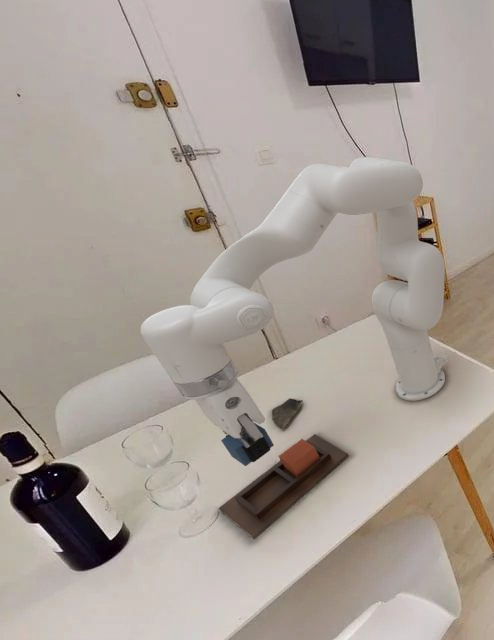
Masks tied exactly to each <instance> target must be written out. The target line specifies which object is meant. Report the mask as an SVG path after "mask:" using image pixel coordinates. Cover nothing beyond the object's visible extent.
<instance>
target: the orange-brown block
mask: <svg viewBox="0 0 494 640" xmlns="http://www.w3.org/2000/svg"><path fill="white" fill-rule="evenodd" d="M278 459H279V461H280V460H281V461H282V463H283V465H284V467H285V468H286V470H287V471H289V472H290V473H291V474H293V475H294V476H295V477H298V476H299V475H300V474H302V473H303V472H304V471H305V470H306V469H308V468H309V467H310V466H311V465H312V464H314V463H315V462H316V461H317V460H318V459H320V457H319V455H318V453H317V451H316V449H315V447H314V446H312V445H311V444H309V443H308V442H306V440H305V439H303V438H301V439H300V440H298V441H297V442H296V443H294V444H292V445H291V446H290V447H289V448H287V449H286V450H284V452H282V453H281V454H280V455H278Z"/></svg>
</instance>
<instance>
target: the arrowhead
mask: <svg viewBox="0 0 494 640" xmlns="http://www.w3.org/2000/svg"><path fill="white" fill-rule="evenodd" d="M302 403H303V399H299V400H297V399H296V398H290V397H289V398H288V399H287V400H285V401H284V402H283V403H282V404H279V405H278V406H276V407H274V408H273V409H271V420H272V421H273V423H274V425H275V426H276V427H278V428H279V429H284V428H285V427H286V426H287V425H288V424H289V423H290V421H291V420H292V418H293V417H294V416H295V415H296V413H297V412H298V411H299V410H300V409H301V407H302Z"/></svg>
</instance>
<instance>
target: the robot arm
mask: <svg viewBox="0 0 494 640" xmlns="http://www.w3.org/2000/svg"><path fill="white" fill-rule="evenodd" d="M423 186H424V181H423V177H422V175H421V173H420V171H419V170H418V168H417V167H416V166H415V165H413V164H411V163H409V162H407V161H403V160H395V159H388V158H382V157H374V156H361V157H358V158H354V160H352V161H351V162H350V165H349V166H344V165H343V166H341V165H337V164H336V165H335V164H329V163H312V164H310V165H307V166H306V167H305V168H304V169H302V170H301V172H299V174H298V175H297V176H296V178H294V180H293V181H292V183H291V184H290V186H289V187H288V188H287V189H286V191H285V192H284V193H283V195H282V197H280V199H279V200H278V202H277V203H276V204H275V206H273V208H272V209H271V211H270V212H269V213H268V215H267V216H266V217H265V218H264V220H263V221H262V223H260V225H259V226H258V227H256V228H254V229H253V230H251V231H249V232H248V233H246V234H245V235H244V236H242V237H241V238H240V239H238V240H237V241H236V242H234V243H232V244H231V245H230V246H228V247H227V248H226V249H225V250H223V251H222V252H221V253H220V254H219V255H218V256H217V257H216V258H215V259H214V260H213V262H212V263H211V264H210V265H209V266H208V268H207V269H206V271H205V272H203V275H202V276H201V277H200V279H199V280H198V281H197V283H196V284H195V286H194V287H193V289H192V293H191V294H190V300H189V304H182V305H177V306H173V307H168V308H165V309H163V310H160V311H158V312H156V313H154V314H152V315H150V316H149V317H147V318H146V319H145V320H144V321H143V322H142V323H141V325H140V329H139V332H140V335H141V337H142V338H143V340H144V342H145V343H146V344H147V346H148V348H149V349H150V350H151V352H152V354H153V355H154V356H155V358H156V359H157V361H158V362H159V363H160V365H161V367H162V368H163V369H164V371H165V372H166V374H167V375H168V376H169V378H170V380H171V381H172V383H173V385H175V387H176V389H177V390H178V392H179V393H180V395H181V396H182V397H183V398H184V399H185V400H191V401H192V400H193V401H195V402H196V405H197V406H198V407H199V409H200V410H201V412H202V413H203V415H204V416H205V417H206V418H207V419H208V421H209V422H210V423H211V424H213V425H214V426H216V427H217V428H219V430H221V431H222V432H223V433H224V435H225V437H227V436H228V435H230V436H232V437H234V438H238V439H239V440H240V441H241V443H242V444H243V445H244V446H243V447H242V448H243V450H244V451H245V453H246V455H247V456H248V458H249V459H250V461H251V463H255V462H256V461H258V460H259V459H260V458H262V457H263V456H265V455H267V453H269V452H270V451H271V448H270V447H269V445H268V443H267V442H266V440H265V438H264V437H263V435H262V433H261V432H260V431H259V429H258V428H257V426H256V425H255V424H254V423H256V424H257V425H262V424H263V423H265V421H266V418H265V416H264V414H263V412H262V411H261V410H260V408H259V406H258V405H257V403H256V402H255V401H254V399H253V397H252V396H251V395H250V393H249V392H248V390H247V389H246V387H244V385H243V384H242V383H241V382H240V380H239V379H238V378H239V375H240V373H239V369H238V367H237V366H236V364H235V362H234V360H233V359H232V357H231V356H230V354H229V352H228V350H227V348H226V347H225V345H224V344H226V343H229V342H232V341H236V340H239V339H242V338H245V337H248V336H252V335H254V334H256V333H258V332H260V331H262V330H264V329H265V328H266V327H267V326H268V325H269V324H270V323H271V322H272V320H273V317H274V313H275V309H274V305H273V303H272V302H271V301H270V300H269V299H268V298H267V297H266V296H265V295H263V294H261V293H258V292H256V291H254V290H252V289H251V288H252V287H253V285H254V284H255V283H256V282H257V280H258V279H259V278H260V277H261V276H262V275H263V274H264V273H265V272H266V271H267V270H269V269H270V268H272V267H273V266H275V265H277V264H279V263H281V262H283V261H288V260H290V259H294V258H298V257H301V256H303V255H305V254H308V253H310V252H311V251H312V250H313V249H314V248H315V246H316V244H317V243H318V241H319V240H320V239H321V238H322V236H323V234H324V233H325V232H326V230H327V229H328V227H329V225H330V224H331V223H332V221H333V220H334V219H335V217H336V216H337V214H342V215H347V216H359V215H361V216H362V215H366V214H372V213H375V215H376V224H377V262H378V263H377V264H378V266H379V269H380V270H381V271H382V272H383V273H385V274H386V275H389V276H391V277H394V278H396V279H388V280H384V281H383V282H381V283H379V284H378V285H377V286H376V287H375V288H374V289H373V292H372V294H371V299H370V300H371V301H370V302H371V308H372V311H373V313H374V315H375V317H376V319H377V321H378V322H379V324H380V326H381V328H382V331H383V332H384V335H385V339H386V341H387V344H388V348H389V350H390V353H391V356H392V360H393V363H394V366H395V370H396V374H397V375H398V380H397V381H396V384H395V390H396V394H397V395H398V397H399V398H401V399H402V400H405V401H409V402H410V401H411V402H414V401H415V402H417V401H421V400H426V399H428V398H431V397H432V396H433V395H434V396H435V394H437V393H438V392H439V391H440V390H441V389H442V387H443V386H445V385H444V384H445V383H446V376H445V372H444V370H443V369H442V367H443V365H444V364H446V363H447V362H448V361H449V360H450V356H449V355H448V354H443V356H441V357H439V355H436V354H435V355H434V352H433V349H432V344H431V340H430V336H429V332H428V330H431V329H433V328H434V327H435V326H437V324H438V322H440V319H441V317H442V315H443V310H444V302H445V282H446V281H445V277H446V264H445V260H444V256H443V254H442V253H441V251H440V250H439V248H437V247H436V246H435V245H433V244H431V243H428V242H424V241H421V240H420V239H419V222H418V212H417V209H416V206H415V203H414V201H415V200H417V199H418V198H419V197H420V195H421V193H422V190H423V188H424V187H423ZM398 279H400V280H398ZM241 428H243V429H242V430H241ZM246 433H248V434H249V437H248V438H247V439H245V438H244V436H243V435H245V434H246Z"/></svg>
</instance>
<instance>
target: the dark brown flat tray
mask: <svg viewBox="0 0 494 640" xmlns="http://www.w3.org/2000/svg"><path fill="white" fill-rule="evenodd" d="M305 441H306V442H308V443H309V444H311V445H312V446H314V447H315V449H316V451H317V453H318V455H319V457H320V459H318V460H317V461H316V462H315V463H314V464H312V465H311V466H310V467H309V468H308V469H306V470H305V471H304V472H303V473H302V474H300V475H299V476H298V477H295V476H294V475H293V474H291V473H290V472H289V471H287V470H286V468H285V467H284V465H283V463H282V461H281V460H280V459H279V461H278V462H276V463H274V465H272V466H271V467H270V468H268V469H267V470H266V471H265V472H264V473H262V474H261V475H259V476H258V477H257V478H256V479H254V480H253V481H252V482H250V483H249V484H247V486H245V487H243V489H241V490H240V491H239V492H237V493H236V494H235V495H234V496H232V497H230V498H229V499H228V500H227V501H226V502H225V503H223V504H222V505H221V506H219V507H218V510H219V511H220V512H221V513H222V514H223V515H224V516H226V517H227V518H228V519H229V520H230V521H232V522H233V523H234V524H235V525H236V526H238V527H239V528H240V530H242V531H243V532H245V533H246V534H247V535H248V536H249V537H250V538H251V539H253V540H255V539H257V538H258V536H260V535H261V534H263V532H264V531H266V529H268V528H269V527H270V526H272V525H273V523H275V522H276V521H277V520H278V519H280V518H281V516H283V515H284V514H285V513H286V512H287V511H289V509H291V508H292V507H293V506H294V505H295V504H297V503H298V502H299V501H300V500H301V499H302V498H303V497H305V496H306V494H308V493H309V492H310V491H311V490H313V489H314V488H315V487H316V486H317V485H318V484H319V483H320V482H322V481H323V480H324V479H325V478H326V477H327V476H329V475H330V474H331V473H332V472H333V471H334V470H335V469H336V468H338V467H339V466H340V465H341V464H342V463H343V462H345V460H346V459H348V458H349V457H350V455H349V454H348V452H346V451H345V450H343V449H341V448H339V447H338V446H336V445H334V444H333V443H331V442H330V441H327V440H325V439H324V438H322V437H320V436H319V435H317V434H316V433H314V434H312V435H311V436H310V437H308V439H306V440H305Z"/></svg>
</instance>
